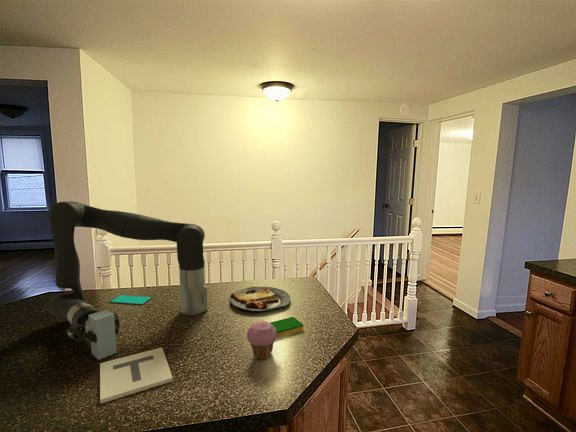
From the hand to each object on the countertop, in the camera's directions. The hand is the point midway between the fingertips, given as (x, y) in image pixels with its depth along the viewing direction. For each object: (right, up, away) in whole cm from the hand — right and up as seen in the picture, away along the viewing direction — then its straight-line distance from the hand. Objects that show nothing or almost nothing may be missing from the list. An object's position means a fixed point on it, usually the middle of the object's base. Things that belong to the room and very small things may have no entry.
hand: (106, 335), depth 91 cm
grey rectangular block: (-2, -6, +3) cm, 7 cm away
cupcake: (+45, -7, +2) cm, 45 cm away
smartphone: (-13, -1, +40) cm, 42 cm away
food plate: (+40, -2, +40) cm, 57 cm away
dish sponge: (+50, -5, +17) cm, 53 cm away
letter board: (+12, -8, -7) cm, 15 cm away
